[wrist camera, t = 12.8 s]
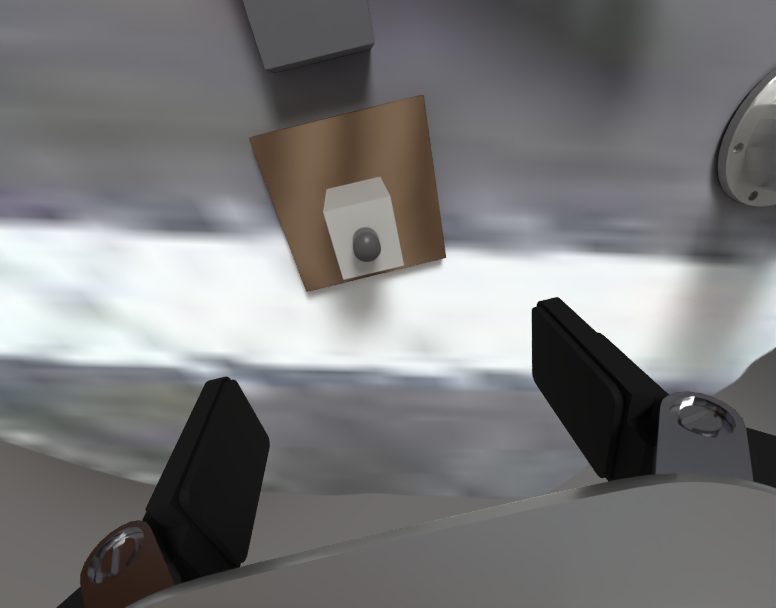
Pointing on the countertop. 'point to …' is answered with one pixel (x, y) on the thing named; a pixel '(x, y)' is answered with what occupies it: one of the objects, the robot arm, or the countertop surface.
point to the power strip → (308, 30)
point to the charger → (362, 228)
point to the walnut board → (349, 165)
